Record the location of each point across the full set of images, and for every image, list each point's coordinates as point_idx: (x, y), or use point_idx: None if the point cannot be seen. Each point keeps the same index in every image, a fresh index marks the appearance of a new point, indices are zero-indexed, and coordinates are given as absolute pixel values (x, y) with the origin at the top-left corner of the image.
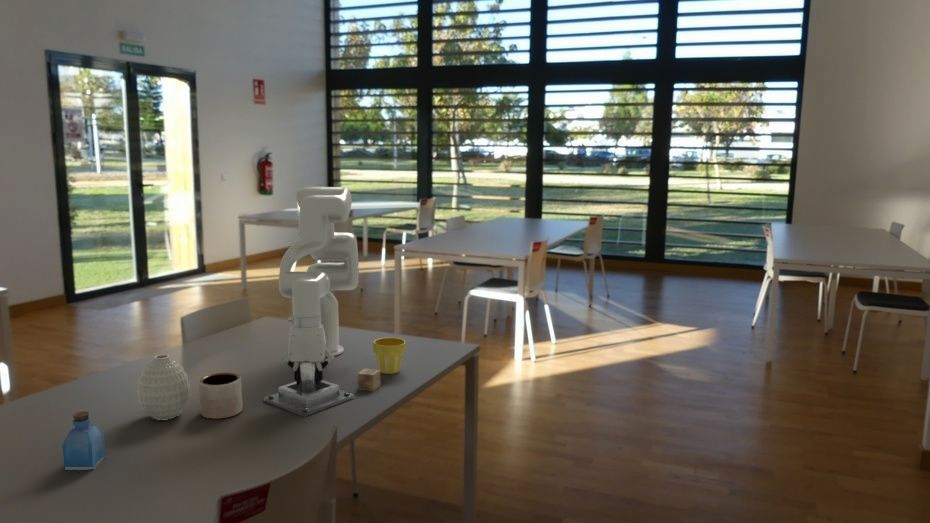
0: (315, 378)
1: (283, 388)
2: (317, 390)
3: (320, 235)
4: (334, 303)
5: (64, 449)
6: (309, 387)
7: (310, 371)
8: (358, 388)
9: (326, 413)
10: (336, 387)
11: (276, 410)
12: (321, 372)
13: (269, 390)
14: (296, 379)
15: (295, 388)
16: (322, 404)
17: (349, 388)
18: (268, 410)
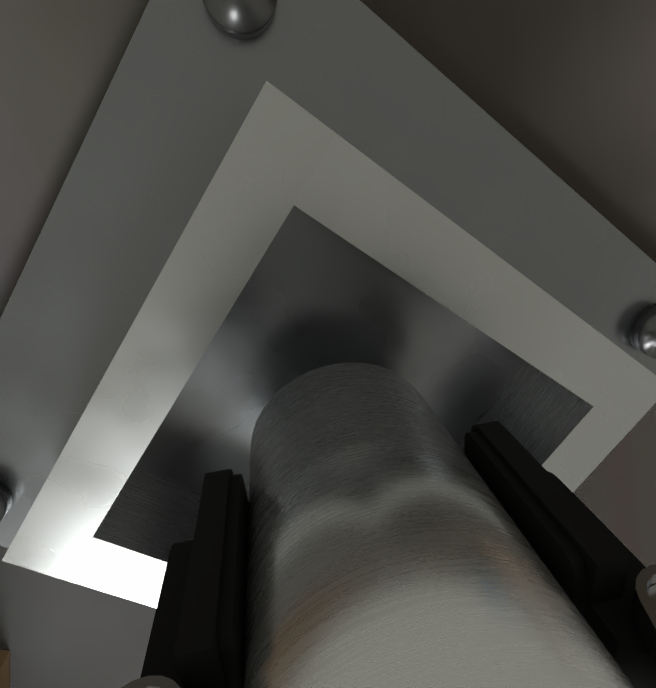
0: (256, 532)
1: (615, 361)
2: (196, 360)
3: None
4: None
5: None
6: (319, 401)
7: (337, 597)
8: (4, 656)
9: (2, 49)
10: (27, 518)
11: (561, 100)
12: (146, 661)
13: (653, 502)
14: (533, 458)
15: None
16: (113, 218)
17: (89, 645)
18: (632, 93)
